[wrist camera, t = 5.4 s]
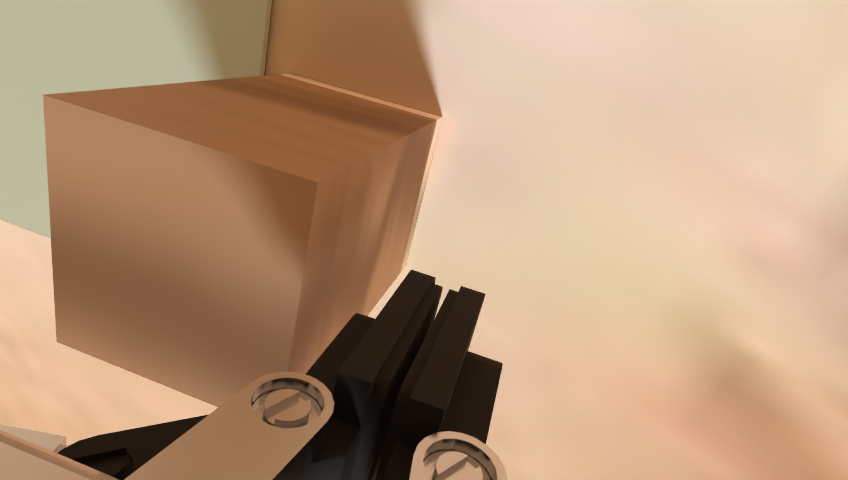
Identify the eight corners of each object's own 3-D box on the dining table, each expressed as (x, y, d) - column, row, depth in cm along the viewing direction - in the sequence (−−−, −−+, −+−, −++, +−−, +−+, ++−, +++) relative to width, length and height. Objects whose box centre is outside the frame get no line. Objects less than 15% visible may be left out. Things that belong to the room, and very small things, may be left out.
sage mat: (-29, -143, 20) (-37, -146, 20) (279, -69, 18) (274, -71, 18) (5, 217, 26) (-1, 219, 25) (239, 303, 24) (235, 306, 23)
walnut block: (289, 73, 19) (42, 94, 10) (442, 116, 19) (317, 182, 9) (271, 219, 22) (56, 341, 13) (406, 265, 21) (277, 431, 12)
